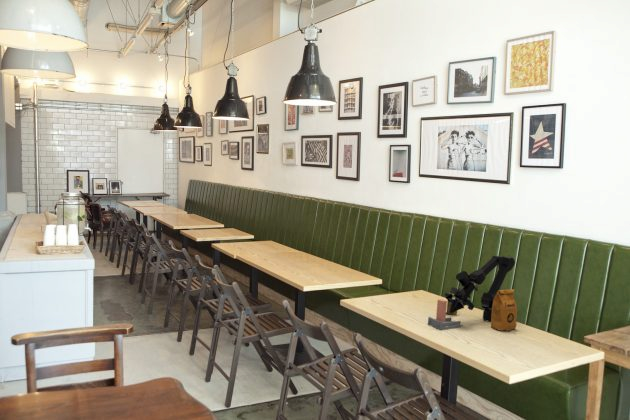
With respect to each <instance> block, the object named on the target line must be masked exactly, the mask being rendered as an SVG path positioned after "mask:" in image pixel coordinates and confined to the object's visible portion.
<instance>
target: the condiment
mask: <svg viewBox="0 0 630 420" xmlns="http://www.w3.org/2000/svg"><path fill="white" fill-rule="evenodd" d="M451 294H452V295H453V296H454V294H453V293H451ZM454 297H455V296H454ZM446 301H447V306H446V317H447V316H448V317H451V318H452V317H457V316H459V315H461V314H459V313H458V310H457V311H455V312H453V313H450V312H449V311H450V307H451V302H449V301H448V300H446Z"/></svg>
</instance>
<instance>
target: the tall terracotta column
mask: <svg viewBox="0 0 630 420" xmlns="http://www.w3.org/2000/svg"><path fill="white" fill-rule="evenodd" d="M447 301H448V300H447V299H446V300H445V299H442V298H439V299H437V302H436V303H437V304H436V305H437V306H436V317H435V319H436V320H438V321H441V322H443V323H446V322H445V319H446V318H447V315H446V312H447Z"/></svg>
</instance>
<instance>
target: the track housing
mask: <svg viewBox="0 0 630 420" xmlns="http://www.w3.org/2000/svg"><path fill="white" fill-rule="evenodd" d="M427 318H428V319H427V325H428V326H430V327H433V328H435V329H437V330H439V331H444V330H451V329H460V328H462V327H463V325H462V324H461V321H460V320H455V321H454V320H452V317H451V316H448V317H446V319H445V322H446V323H443V322H441V321H438V320H436V318H433V317H431V316H428V317H427Z"/></svg>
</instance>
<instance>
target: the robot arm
mask: <svg viewBox="0 0 630 420" xmlns="http://www.w3.org/2000/svg"><path fill="white" fill-rule="evenodd" d="M515 265H516V261H515V258H514V257H510V256H506V255H501V256H500V255H496V254H495V255H493V256H492V257H491V258H490V260H488V261H487V262H486V263H485V264H484V265H483V266H482V267H481V268H479V269H476V270H474V271H472V272H471V273H470V274H469V273H468V272H467V271H466V270H463V271H461V272H459V273H456V275H455V280H457V282H458V284H460V285H461V287H460V288H456V287H453V286H451V288H450V291H449V292H445V293H444V294H443V296H444V298H445V299H446V301H449V302H451V307H450V311H449V312H450V313H453V312H455V311H457V312H458V311H459V310H464V309H465V306H466V307H467V309H468V310H471V311H473V310H474V308H475V305H474V303H473V302H472V301H471V300H470V299H471V295H472V293H473V292H474V291H476V292H477V291H478V289H479V288H478V286H479V285H482V284H483V283H484V282H485V280H486V278H487V277H486V276H487V275H488V274H490V273H491V272H492V271H493V270H494V269H495V268H496V267H497V266H498V267H497V268H498V270H497V272H496V275H495V277H494V279H493V281H492V283H491V285H490V287H489V290H488V291H486V292H485V291H484V292H483V293H482V296H481V297H480V304H481V308H482V309H484V310H483V312H482V320H483V321H485V322H491V314H492V305H493V300H494V298H495V296H496V294H497V292H498V290H501V287H502V285H503V282H504V280H505V278H506V276H507V274H508V273H509V272H510V271H512V270H513V268H514V266H515ZM452 294H454V296H455V297H454V296H453V295H452Z"/></svg>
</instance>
